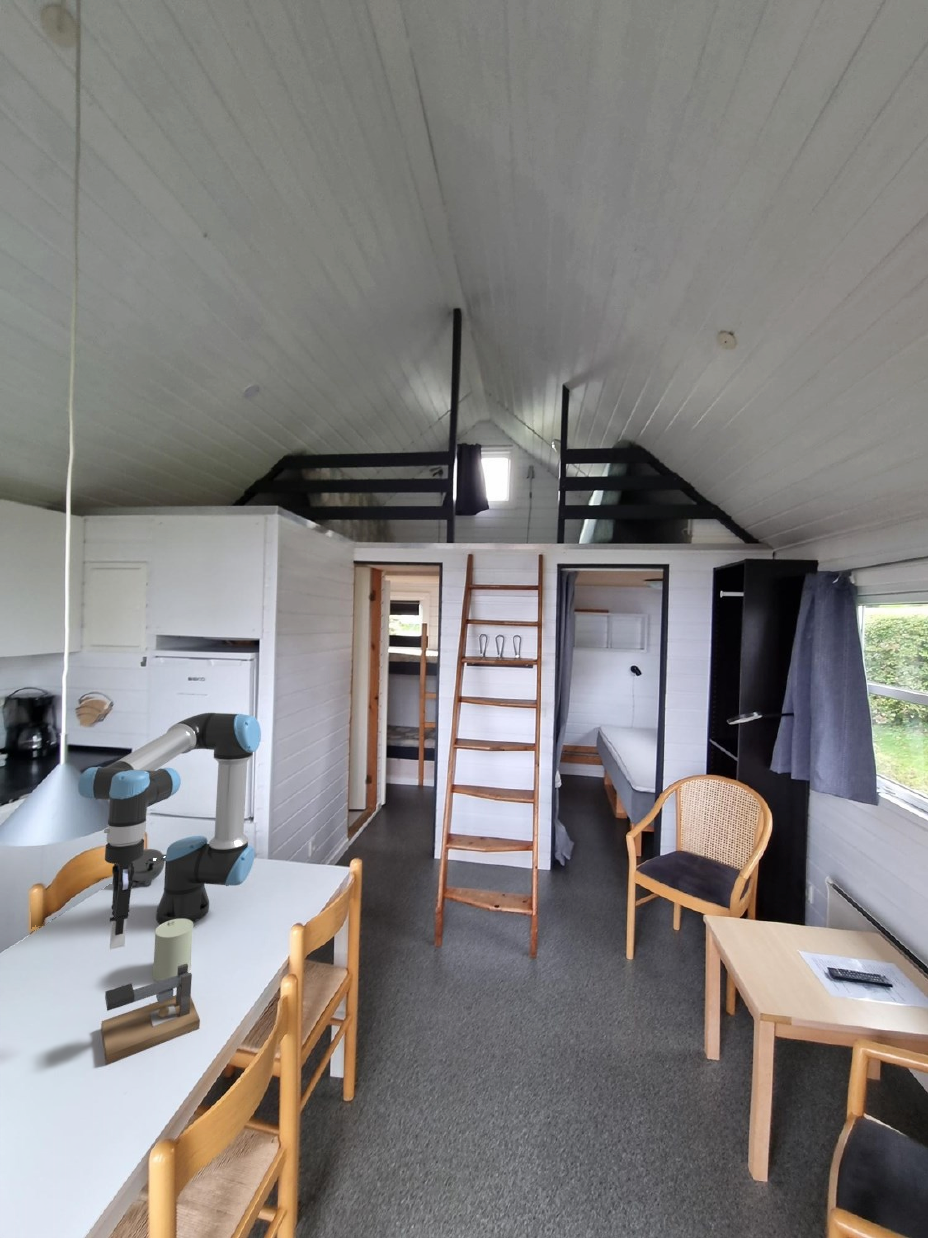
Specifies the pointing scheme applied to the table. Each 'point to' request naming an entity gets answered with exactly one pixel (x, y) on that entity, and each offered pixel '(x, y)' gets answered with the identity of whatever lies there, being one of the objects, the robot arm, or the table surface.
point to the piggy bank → (148, 867)
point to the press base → (150, 1023)
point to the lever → (142, 992)
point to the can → (172, 948)
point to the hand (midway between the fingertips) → (117, 946)
